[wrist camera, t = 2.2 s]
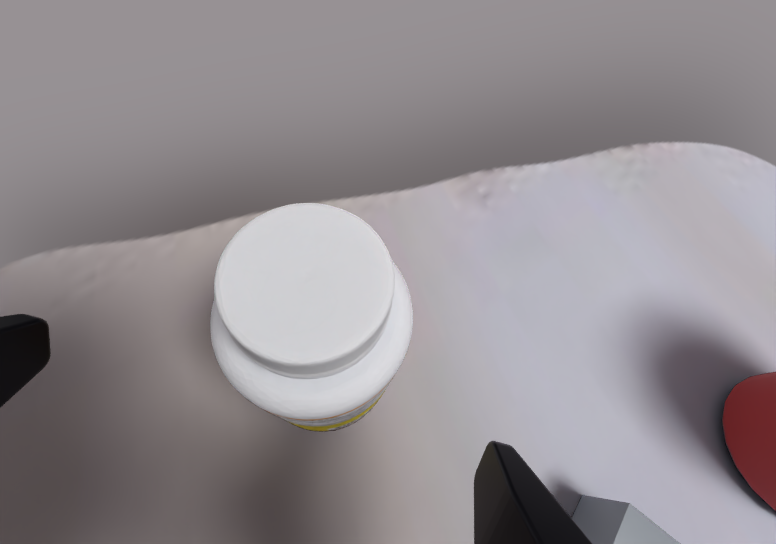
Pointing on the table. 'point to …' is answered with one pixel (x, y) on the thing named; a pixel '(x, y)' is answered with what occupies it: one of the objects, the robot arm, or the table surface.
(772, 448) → the beer can
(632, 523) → the sorting tray
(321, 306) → the supplement bottle
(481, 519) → the robot arm
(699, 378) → the table surface
